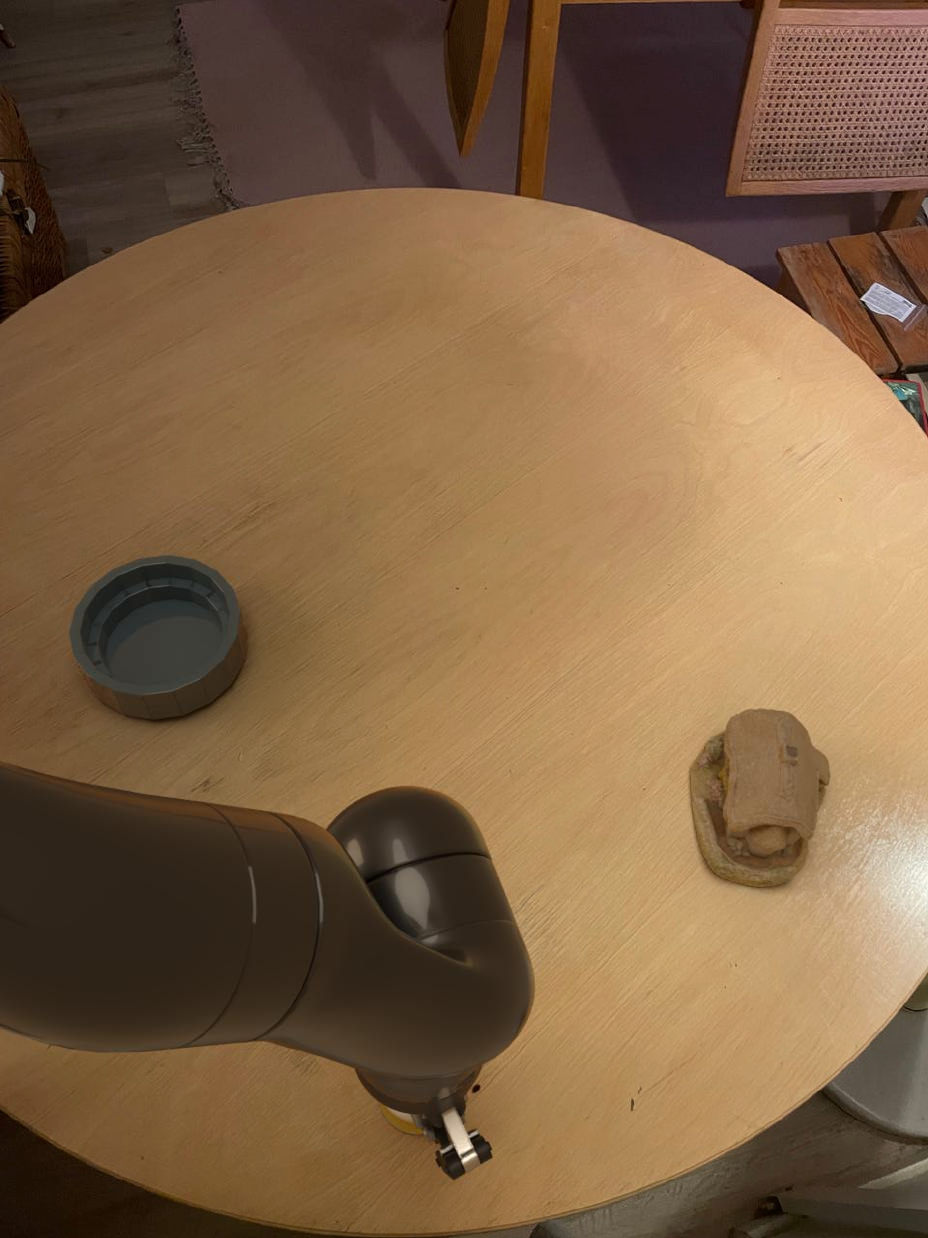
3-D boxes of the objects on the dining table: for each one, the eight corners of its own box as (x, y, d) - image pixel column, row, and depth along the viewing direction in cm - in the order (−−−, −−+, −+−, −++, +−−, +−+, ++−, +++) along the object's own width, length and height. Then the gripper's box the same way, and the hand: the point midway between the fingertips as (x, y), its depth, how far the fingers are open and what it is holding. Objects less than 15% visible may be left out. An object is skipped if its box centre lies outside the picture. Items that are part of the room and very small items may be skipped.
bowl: (101, 744, 86) (85, 716, 81) (74, 611, 93) (58, 578, 88) (264, 696, 89) (257, 667, 84) (226, 571, 96) (218, 537, 91)
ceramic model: (691, 719, 89) (720, 659, 81) (822, 742, 88) (865, 683, 80) (682, 876, 81) (713, 828, 73) (825, 902, 81) (873, 856, 72)
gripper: (297, 930, 56) (321, 1005, 70) (414, 1203, 49) (414, 1224, 63) (422, 869, 58) (421, 954, 72) (551, 1123, 51) (521, 1161, 65)
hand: (418, 1080), depth 67 cm, fingers closed on supplement bottle, 5 cm apart
